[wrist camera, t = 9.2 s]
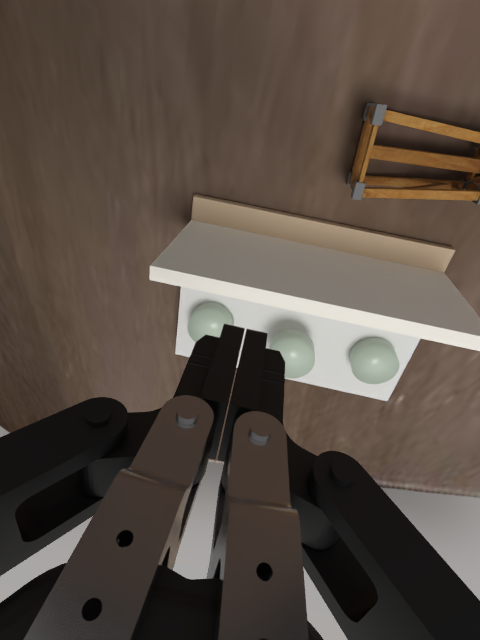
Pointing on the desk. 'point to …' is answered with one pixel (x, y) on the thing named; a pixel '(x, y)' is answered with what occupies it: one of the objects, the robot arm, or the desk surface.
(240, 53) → the desk surface
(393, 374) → the button right
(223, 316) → the button left
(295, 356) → the button middle
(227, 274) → the pattern card
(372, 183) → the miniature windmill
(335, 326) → the button panel
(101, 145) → the desk surface
